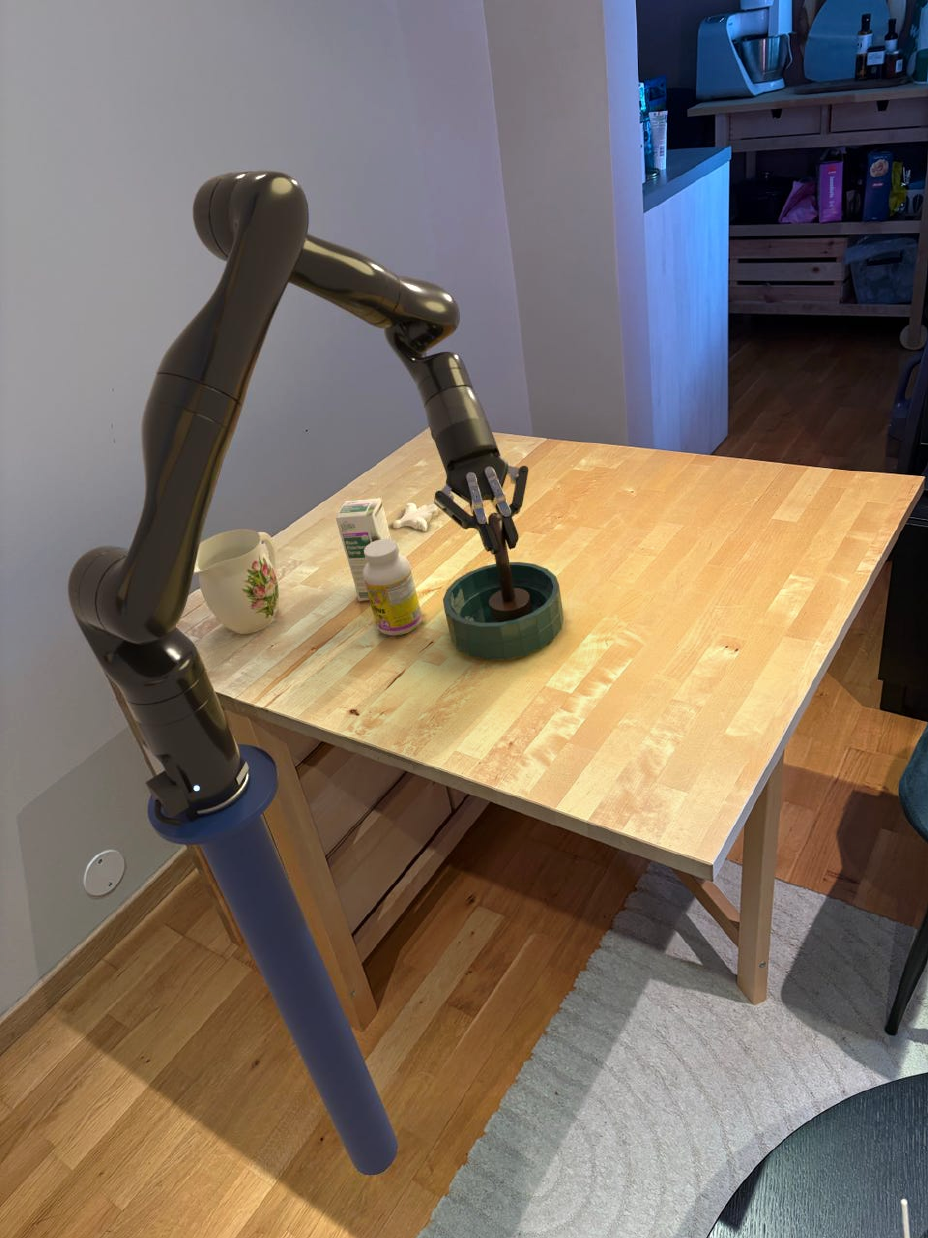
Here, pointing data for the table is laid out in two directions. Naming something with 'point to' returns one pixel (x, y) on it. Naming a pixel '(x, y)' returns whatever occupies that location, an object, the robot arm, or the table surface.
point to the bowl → (509, 638)
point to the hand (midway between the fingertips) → (504, 549)
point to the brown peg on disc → (506, 581)
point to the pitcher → (239, 579)
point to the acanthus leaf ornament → (417, 516)
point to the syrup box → (361, 535)
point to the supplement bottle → (391, 588)
